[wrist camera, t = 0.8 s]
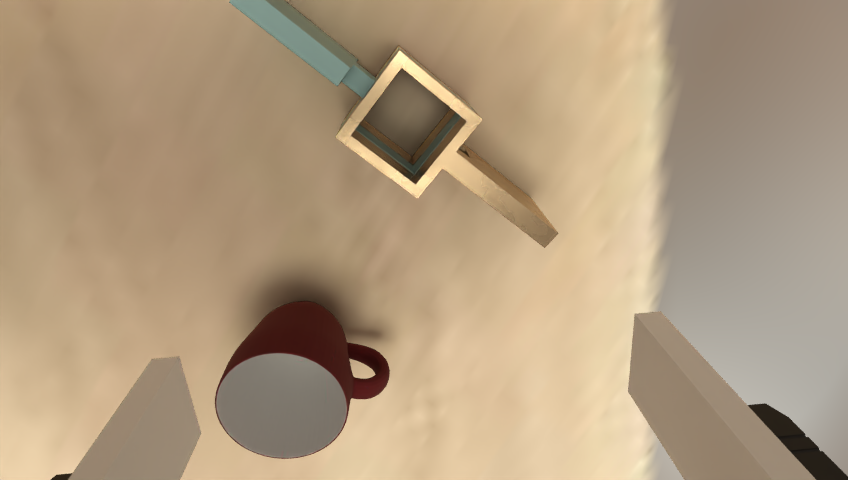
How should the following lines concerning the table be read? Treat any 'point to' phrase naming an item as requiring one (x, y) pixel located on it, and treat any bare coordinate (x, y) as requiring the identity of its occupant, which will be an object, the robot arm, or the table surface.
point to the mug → (294, 383)
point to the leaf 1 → (328, 60)
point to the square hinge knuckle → (442, 152)
